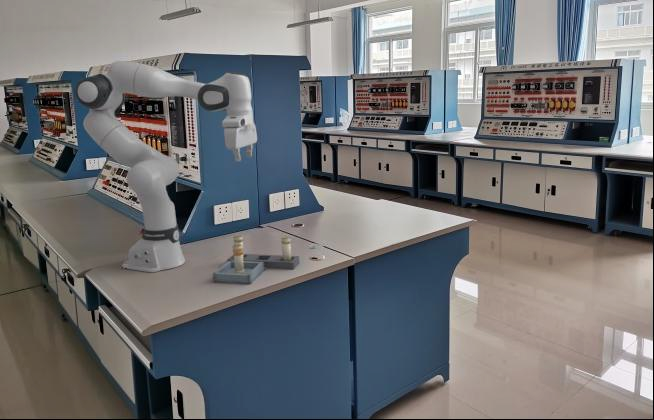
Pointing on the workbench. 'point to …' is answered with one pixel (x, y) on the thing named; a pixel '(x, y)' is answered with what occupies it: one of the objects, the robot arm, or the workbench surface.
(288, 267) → the fuse holder
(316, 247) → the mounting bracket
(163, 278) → the workbench surface
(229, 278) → the parts tray
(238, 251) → the marked fuse
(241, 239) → the left fuse
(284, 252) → the right fuse
